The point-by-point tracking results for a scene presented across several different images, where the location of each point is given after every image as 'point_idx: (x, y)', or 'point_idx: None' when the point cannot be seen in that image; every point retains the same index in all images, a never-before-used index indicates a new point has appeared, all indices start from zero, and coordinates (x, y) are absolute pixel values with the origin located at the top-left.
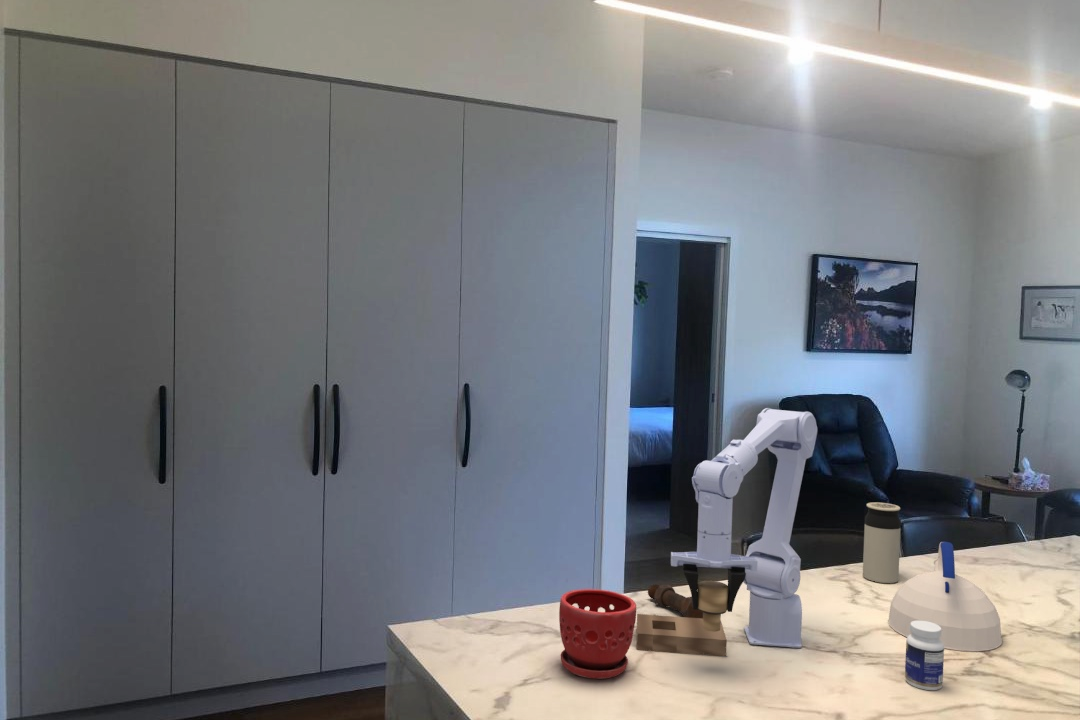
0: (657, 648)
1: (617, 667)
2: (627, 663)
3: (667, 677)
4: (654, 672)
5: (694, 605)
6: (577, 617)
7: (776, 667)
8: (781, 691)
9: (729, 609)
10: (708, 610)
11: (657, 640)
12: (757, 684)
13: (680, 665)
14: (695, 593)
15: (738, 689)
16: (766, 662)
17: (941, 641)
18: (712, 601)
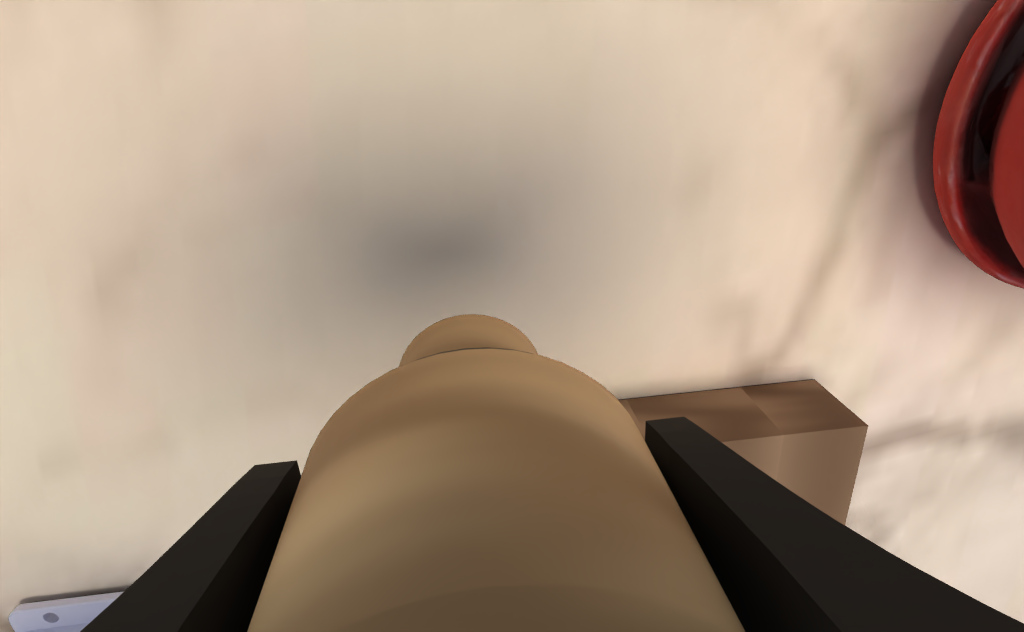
0: (723, 395)
1: (1012, 49)
2: (963, 85)
3: (703, 83)
4: (766, 133)
5: (702, 434)
6: None
7: (106, 373)
8: (17, 52)
9: (268, 474)
10: (533, 361)
11: (744, 419)
12: (181, 120)
13: (617, 260)
14: (786, 536)
15: (289, 13)
16: (168, 416)
17: None
18: (496, 428)
